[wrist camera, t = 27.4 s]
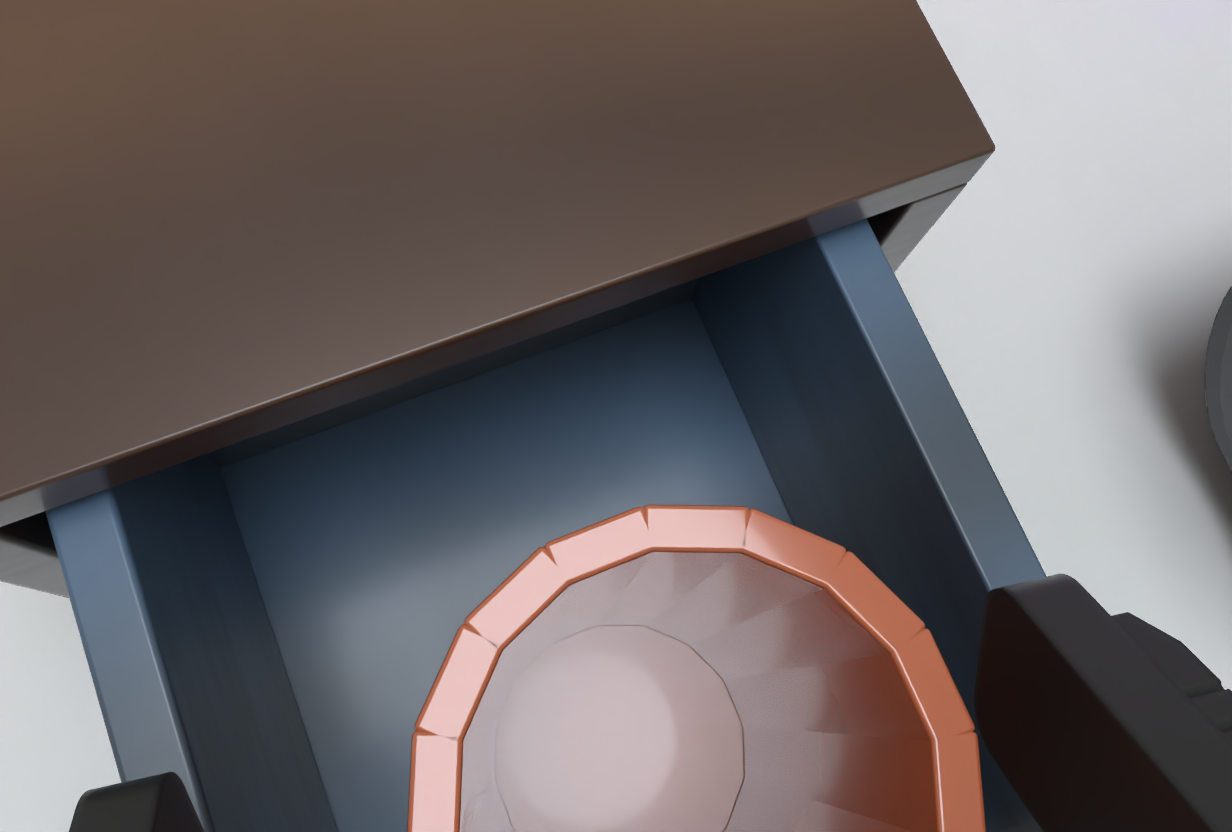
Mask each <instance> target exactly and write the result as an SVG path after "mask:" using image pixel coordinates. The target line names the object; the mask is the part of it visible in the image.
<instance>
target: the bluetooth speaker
mask: <svg viewBox="0 0 1232 832" xmlns="http://www.w3.org/2000/svg"><path fill="white" fill-rule="evenodd" d="M1205 395H1206V405H1207V410H1208V415H1209V419H1210V424H1211V429H1212V432H1213V434H1214V436H1215V438H1216V441H1217V443H1218V445H1219V447H1220V449H1221V452H1222V454H1223V456H1224V458H1225V460H1226V462H1227V464H1228V466H1229V468H1230V470H1231V472H1232V286H1231V288H1230V289H1229V291H1228V293H1227V294H1226V296H1225V297H1224V299H1223V301H1222V304H1221V306H1220V308H1219V310H1218V313H1217V315H1216V318H1215V321H1214V324H1213V327H1212V331H1211V334H1210V337H1209V342H1208V348H1207V353H1206V365H1205Z"/></svg>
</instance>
